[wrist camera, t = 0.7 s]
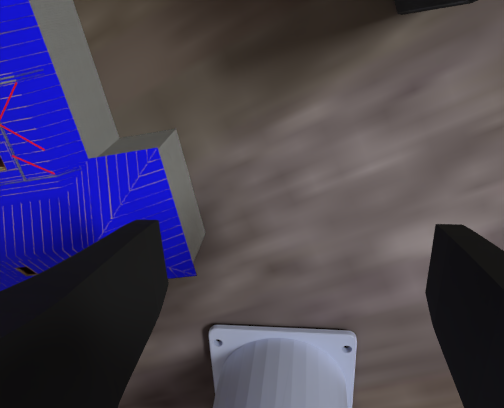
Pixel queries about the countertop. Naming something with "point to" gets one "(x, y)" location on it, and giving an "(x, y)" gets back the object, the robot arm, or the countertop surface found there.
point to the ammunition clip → (426, 5)
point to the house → (76, 153)
